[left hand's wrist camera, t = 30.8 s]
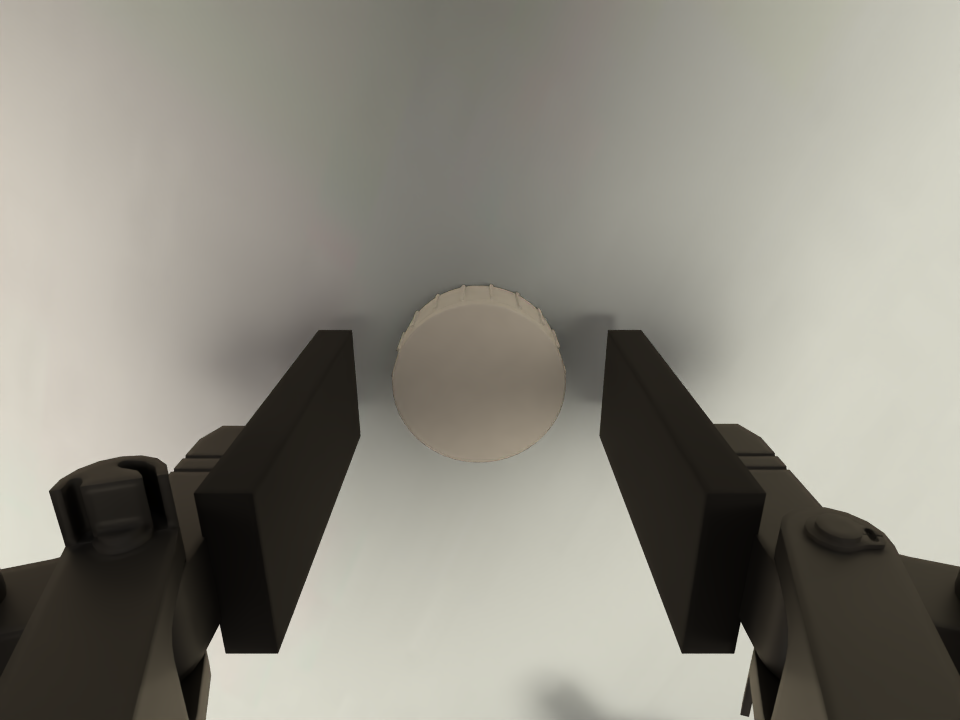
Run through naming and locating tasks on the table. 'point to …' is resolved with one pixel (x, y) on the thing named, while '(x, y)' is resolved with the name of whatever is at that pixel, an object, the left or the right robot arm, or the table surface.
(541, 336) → the cap
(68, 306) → the table surface
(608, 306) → the table surface
